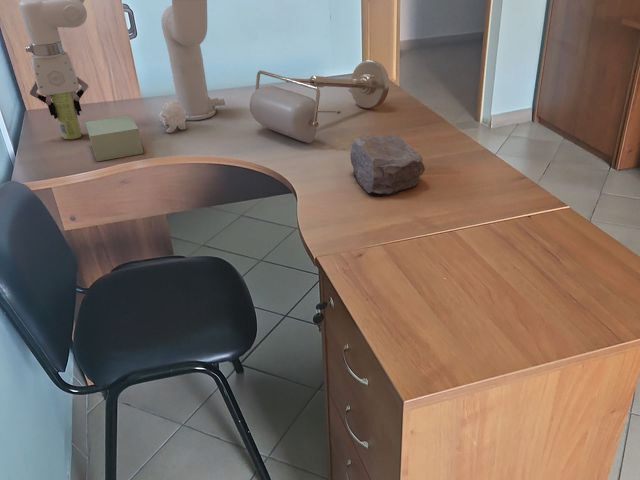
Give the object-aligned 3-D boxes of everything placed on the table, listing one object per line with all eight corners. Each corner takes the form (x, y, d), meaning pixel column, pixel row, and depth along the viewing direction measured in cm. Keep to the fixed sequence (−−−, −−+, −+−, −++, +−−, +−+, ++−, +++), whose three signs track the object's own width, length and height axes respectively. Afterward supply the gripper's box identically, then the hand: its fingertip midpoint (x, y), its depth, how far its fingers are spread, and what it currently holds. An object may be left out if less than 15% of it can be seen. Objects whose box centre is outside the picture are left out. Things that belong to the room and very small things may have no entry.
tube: (81, 132, 173) (61, 64, 162) (86, 136, 170) (67, 67, 159) (61, 136, 170) (40, 67, 159) (66, 141, 167) (45, 71, 156)
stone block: (436, 155, 135) (379, 151, 129) (425, 202, 140) (369, 201, 134) (403, 134, 148) (349, 130, 142) (393, 177, 153) (341, 175, 147)
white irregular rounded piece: (163, 105, 165) (149, 99, 174) (170, 135, 169) (156, 127, 178) (184, 101, 168) (169, 95, 177) (190, 130, 172) (176, 123, 181)
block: (136, 138, 168) (131, 114, 164) (143, 153, 159) (138, 128, 155) (92, 146, 164) (85, 121, 160) (96, 161, 155) (89, 136, 151)
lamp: (335, 123, 200) (237, 125, 171) (345, 54, 191) (244, 42, 162) (395, 143, 185) (299, 149, 156) (409, 68, 176) (310, 59, 147)
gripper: (12, 56, 150) (34, 124, 160) (83, 48, 157) (100, 115, 167) (11, 49, 156) (33, 116, 166) (80, 42, 162) (97, 107, 172)
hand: (67, 115), depth 166 cm, fingers closed on tube, 5 cm apart
